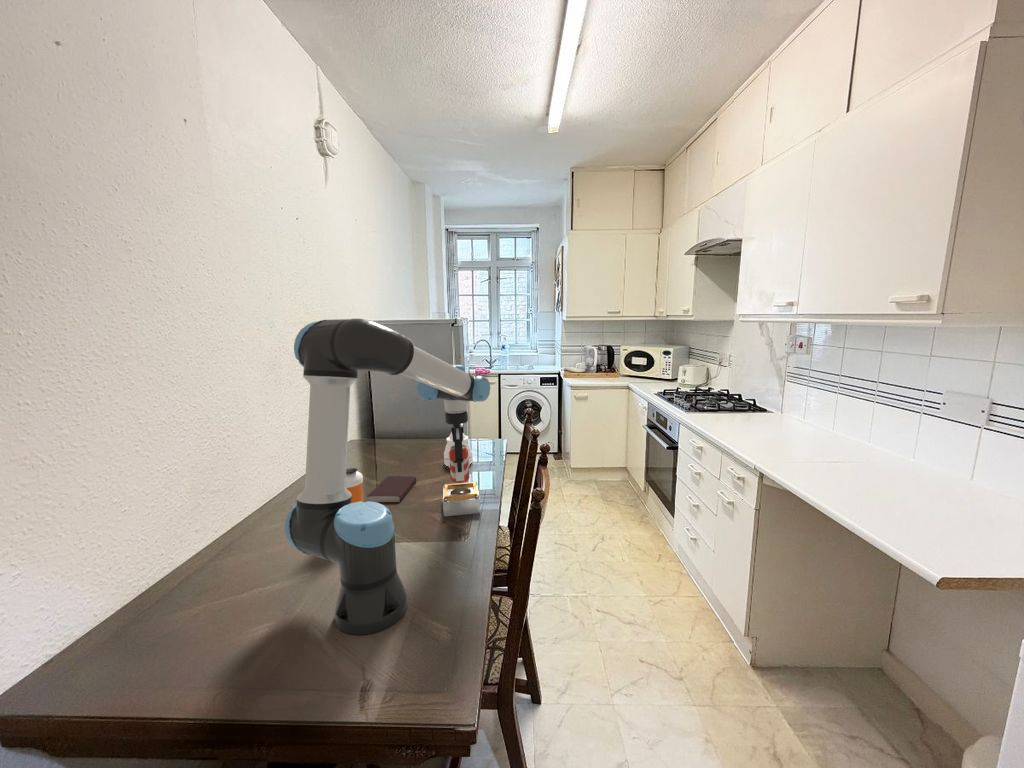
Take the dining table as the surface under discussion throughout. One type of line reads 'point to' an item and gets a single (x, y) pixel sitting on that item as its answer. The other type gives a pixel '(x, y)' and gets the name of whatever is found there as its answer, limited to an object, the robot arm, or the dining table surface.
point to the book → (392, 489)
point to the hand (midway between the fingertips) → (460, 476)
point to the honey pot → (451, 443)
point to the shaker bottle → (354, 484)
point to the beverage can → (465, 463)
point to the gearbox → (461, 499)
